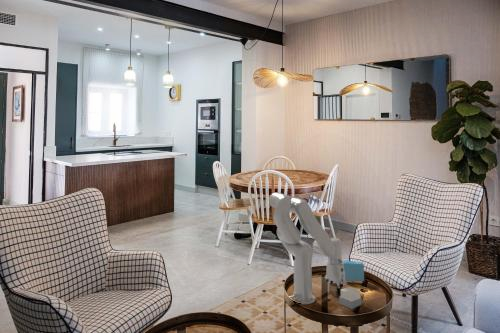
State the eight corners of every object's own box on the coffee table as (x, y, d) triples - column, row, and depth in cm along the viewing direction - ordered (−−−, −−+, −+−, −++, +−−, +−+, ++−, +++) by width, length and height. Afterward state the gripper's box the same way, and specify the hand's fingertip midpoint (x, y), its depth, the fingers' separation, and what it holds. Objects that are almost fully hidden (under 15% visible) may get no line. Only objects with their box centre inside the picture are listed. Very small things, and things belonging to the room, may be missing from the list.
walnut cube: (336, 296, 204) (336, 287, 203) (329, 293, 208) (328, 284, 207) (342, 293, 207) (341, 284, 206) (335, 291, 211) (334, 282, 210)
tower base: (351, 309, 188) (351, 301, 187) (339, 304, 194) (338, 296, 194) (361, 305, 192) (361, 297, 192) (349, 300, 199) (349, 292, 198)
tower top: (351, 301, 188) (351, 293, 187) (340, 297, 193) (340, 289, 193) (360, 298, 191) (360, 290, 191) (349, 293, 197) (349, 286, 197)
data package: (363, 281, 224) (363, 261, 223) (364, 284, 219) (363, 264, 218) (343, 280, 227) (342, 260, 226) (343, 282, 222) (342, 263, 222)
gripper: (351, 263, 201) (352, 295, 203) (327, 256, 215) (328, 286, 216) (342, 266, 197) (343, 299, 198) (318, 258, 211) (319, 290, 212)
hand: (335, 292), depth 207 cm, fingers closed on walnut cube, 4 cm apart
